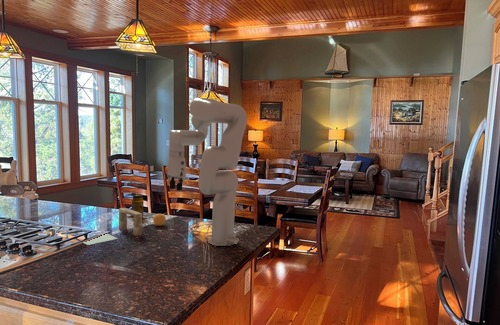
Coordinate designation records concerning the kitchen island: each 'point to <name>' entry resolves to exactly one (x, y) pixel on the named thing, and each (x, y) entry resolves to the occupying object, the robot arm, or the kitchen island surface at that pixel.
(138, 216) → the bridge
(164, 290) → the kitchen island surface
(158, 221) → the ball
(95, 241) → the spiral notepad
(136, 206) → the condiment
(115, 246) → the kitchen island surface
